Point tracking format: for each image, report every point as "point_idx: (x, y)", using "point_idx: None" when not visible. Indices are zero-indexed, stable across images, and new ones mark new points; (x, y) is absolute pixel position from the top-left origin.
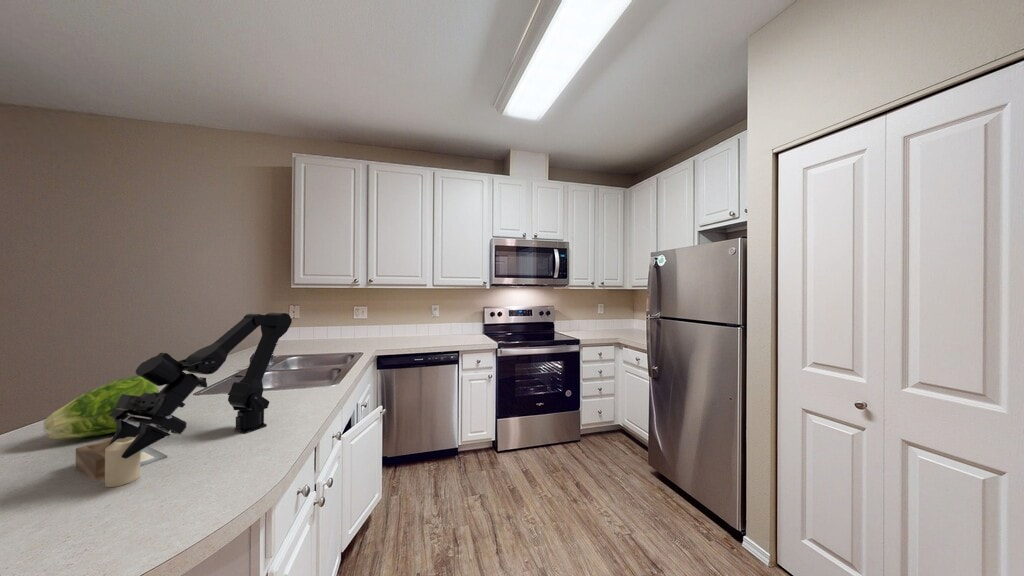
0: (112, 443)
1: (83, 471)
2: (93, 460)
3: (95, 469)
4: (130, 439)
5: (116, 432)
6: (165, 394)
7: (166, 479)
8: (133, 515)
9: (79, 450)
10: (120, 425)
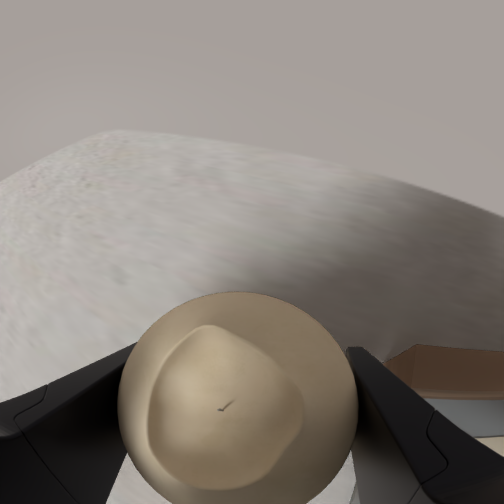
0: (252, 330)
1: None
2: (449, 349)
3: (400, 354)
4: (208, 467)
5: (467, 448)
6: None
7: None
8: (27, 266)
9: None
10: (490, 501)
